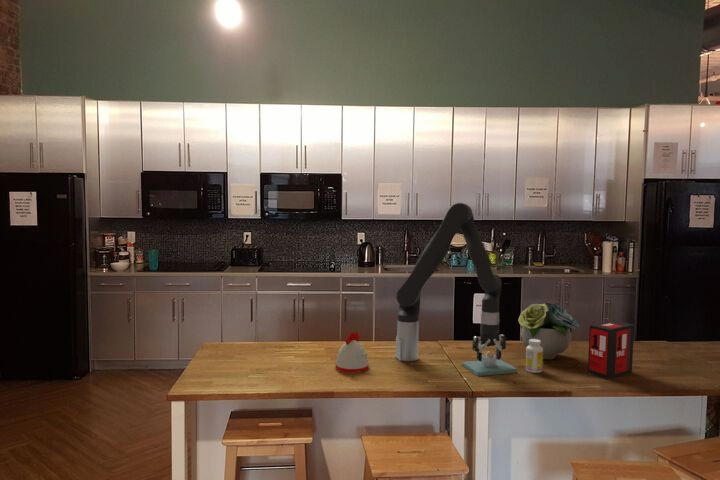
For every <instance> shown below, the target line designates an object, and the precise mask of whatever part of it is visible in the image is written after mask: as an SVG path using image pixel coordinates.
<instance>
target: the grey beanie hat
mask: <svg viewBox="0 0 720 480" xmlns="http://www.w3.org/2000/svg"><path fill="white" fill-rule="evenodd" d="M360 336H361V334H360V333H358V331H355V332H353V331H352V332H349V335H347V336H346V337H347V339H344V342H345V343H343V344H342V345H341V347H340V348H339V349H338V350H337V357H336V360H335V370H337V369H338V370H340V371H339V372H341V371H343V372H342V373H346V372H358V373H361V372H360V371H363V372H366V371H368V370H369V368H368V367H369V365H370V364H369V359H368V358H369V357H368V353H367V351H366V349H365V347H364V346H363V345H362V344H361V343H360V341H359V339H360ZM338 370H337V371H338ZM365 370H366V371H365Z"/></svg>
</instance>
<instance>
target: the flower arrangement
mask: <svg viewBox="0 0 720 480" xmlns="http://www.w3.org/2000/svg"><path fill="white" fill-rule="evenodd" d="M567 311H568V309H566V308H564V309H562V305H561V304H560V305H559V304H556V303H552V304H551V302H545V303H531V304H529V305H528V306H527V308H525V309H524V310H522V311H521V313H520V315H519V317H518V323H519V325H520V326H521V327H520V331H521V332H520V333H521V340H522V343H523V346H524V347H525V349H526V348H527V346H529V340H530V339H537V340H540V341H541V344H540V346H541V347H542V348H543V360H553V359H555V358H556V356H557V355H559V354H561V353H564V352H565V351H567V350H568V348H569V347H570V344H571V343H572V342H571V341H572V332H573V331H572V329H573V330H575V329H577V328H580V325H579V323H577V322H578V321H577V320H576V319H575V318H573V317H572V315H570V314H569V313H568V312H567Z"/></svg>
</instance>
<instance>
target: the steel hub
mask: <svg viewBox="0 0 720 480" xmlns="http://www.w3.org/2000/svg"><path fill="white" fill-rule="evenodd" d="M481 365H482V366H483V367H488V368H493V367H496V366H497V356H496V354H493V353H492V357H486V353H482V361H481Z"/></svg>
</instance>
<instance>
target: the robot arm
mask: <svg viewBox="0 0 720 480" xmlns="http://www.w3.org/2000/svg"><path fill="white" fill-rule="evenodd" d="M471 208H472V207H470V206H469V205H468V204H467V203H463V202H455V203H453V204H452V205H451V206H450V207H449V208H448V209H447V212H446V214H445V216H444V218H443V220H442V222H441V223H440V226H439V227H438V229H437V230H436V232H435V233H434V235H433V236H432V237H431V239H430V240H429V241H428V243H427V244H426V246H425V247H424V249H423V251H422V253H421V254H420V256H419V257H418V259H417V261H416V263H415V265H414V267H413V269H412V271H411V273H410V274H409V276H408V277H407V278H406V280H405V281H404V282H403V283H402V284H401V286H400V287H399V288H398V290H397V291H396V301H397V303H398V304H399V308H398V312H397V335H396V336H395V358H396V359H397V360H398V361H400V362H403V361H404V362H414V361H417V360H418V359H419V320H420V319H419V317H420V310H421V291H422V289H423V287H424V285H425V284H426V282H427V281H428V280H429V279H431V277H432V276H433V274H435V272H436V271H437V269H438V268H439V267H440V266H441V264H442V263H443V261H444V259H445V258H446V257H447V254H448V252H449V250H450V247H451V245H452V242H453V238H454V237H455V236H456V234H457V233H458V232H459V230H460V231H461V234H462V235H463V238H464V241H465V243H466V247H467V251H468V255H469V258H470V259H471V262H472V264H473V266H474V269H475V272H476V276H477V280H478V284H479V286H480V287H481V289H482V290H483V291H484V296H483V298H482V300H481V312H480V313H481V314H480V330H479V331H480V336H476V335H474V336H473V338H472V339H473V340H472V350H473V351H474V352H476V359H477V361H482V354H483V353H482V352H483V351H484V349H486V347H495V348H496V350H495V353H496V354H495V355H496V356H497V359H498V360H500V359H502V351H503V350H506V349H507V343H506V342H507V337H506V335H505V334H502V333H501V334H500V299H501V291H502V285H503V283H502V279H501V276H499V275H498V274H496V273H493V271H492V270H493V269H492V261H491V259H490V255H489V254H488V252H487V249H486V248H485V244H484V243H483V242H482V240H481V237H480V235H479V231H478V228H477V225H476V222H475V218H474V213H473V210H472V209H471ZM498 341H500V343H499V342H498ZM479 342H480V343H479Z"/></svg>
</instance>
